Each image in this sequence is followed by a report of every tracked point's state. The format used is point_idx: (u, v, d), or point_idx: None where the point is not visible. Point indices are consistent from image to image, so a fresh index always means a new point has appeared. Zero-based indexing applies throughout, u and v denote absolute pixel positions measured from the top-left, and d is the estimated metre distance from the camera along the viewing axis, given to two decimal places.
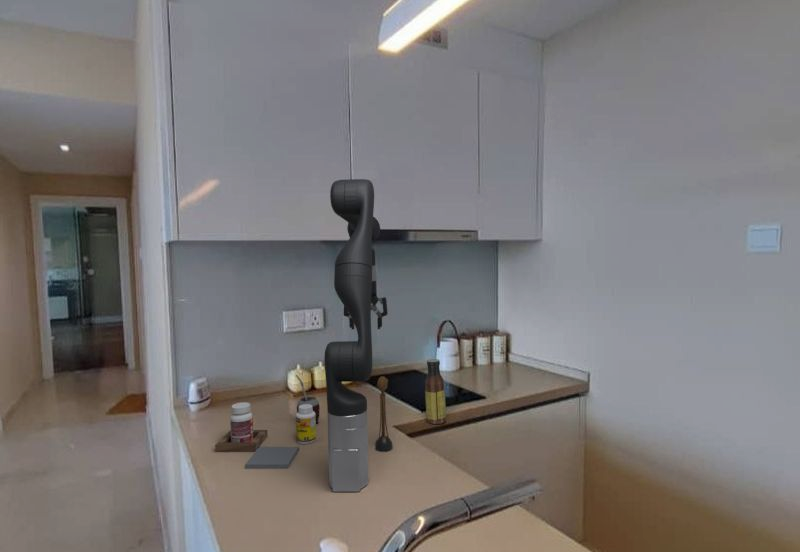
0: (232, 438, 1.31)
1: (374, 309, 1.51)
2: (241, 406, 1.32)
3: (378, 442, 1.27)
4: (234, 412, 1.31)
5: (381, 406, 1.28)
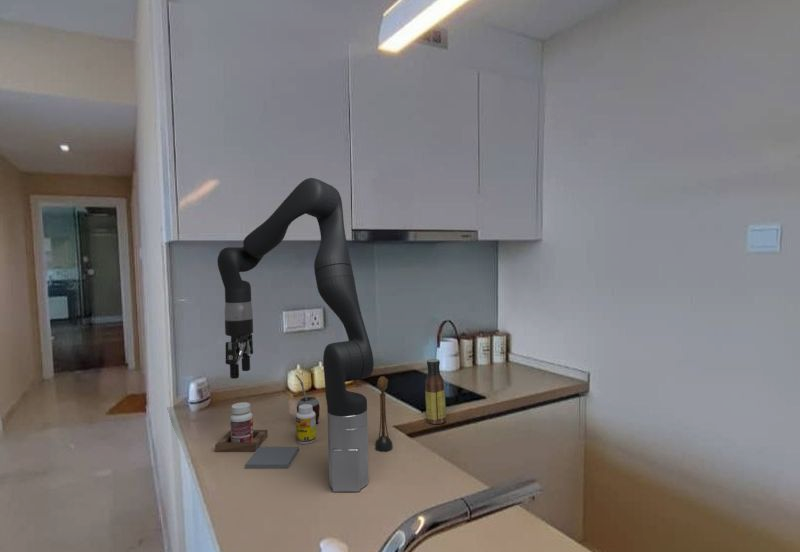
0: (232, 438, 1.31)
1: (249, 349, 1.36)
2: (241, 406, 1.32)
3: (378, 442, 1.27)
4: (234, 412, 1.31)
5: (381, 406, 1.28)
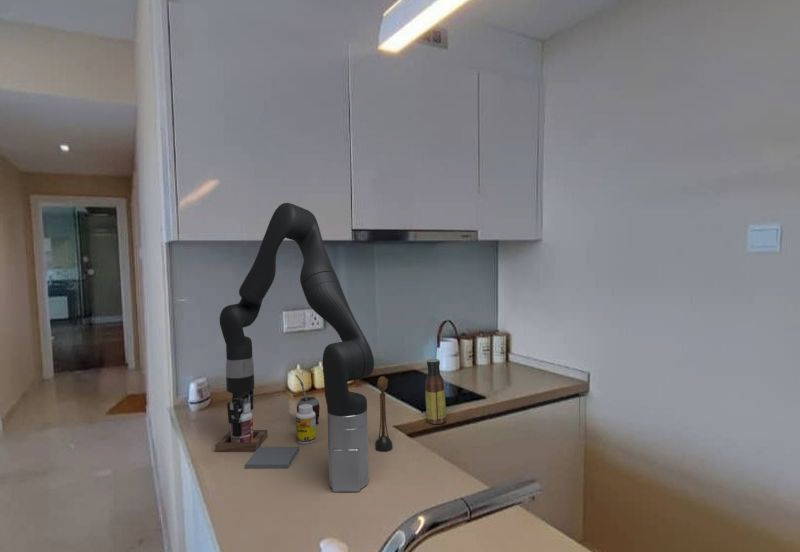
0: (232, 437, 1.31)
1: (250, 404, 1.36)
2: None
3: (378, 442, 1.27)
4: None
5: None
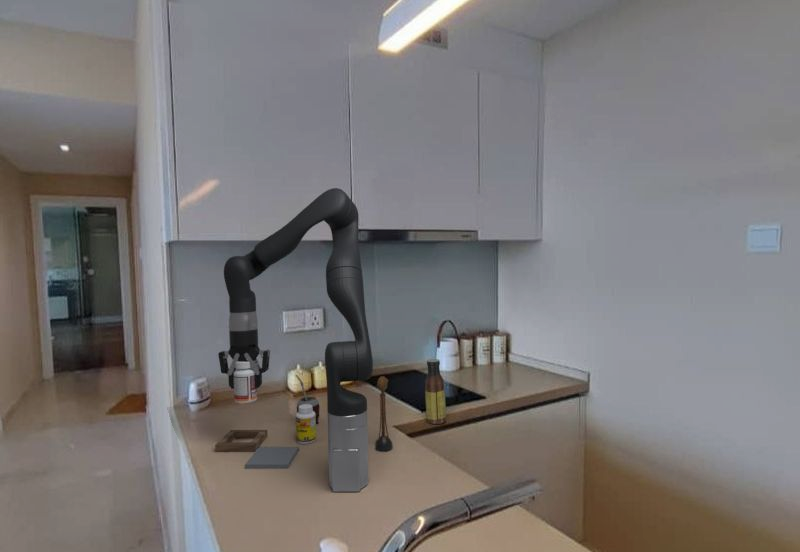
0: (251, 393, 1.28)
1: None
2: None
3: (378, 442, 1.27)
4: None
5: (381, 406, 1.28)
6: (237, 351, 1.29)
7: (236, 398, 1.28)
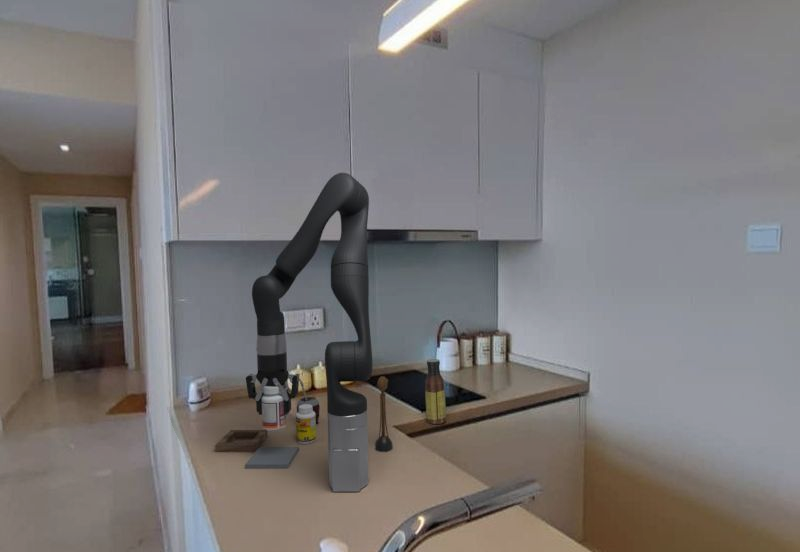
0: (280, 419, 1.21)
1: None
2: None
3: (378, 442, 1.27)
4: None
5: (381, 406, 1.28)
6: (265, 375, 1.22)
7: (264, 425, 1.21)
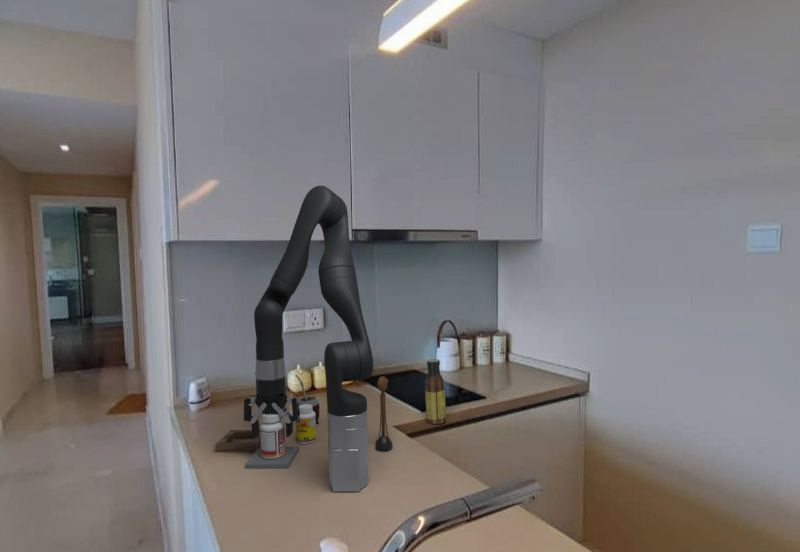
0: (279, 448, 1.21)
1: None
2: None
3: (378, 442, 1.27)
4: (279, 419, 1.22)
5: (381, 406, 1.28)
6: (264, 400, 1.21)
7: (263, 453, 1.21)
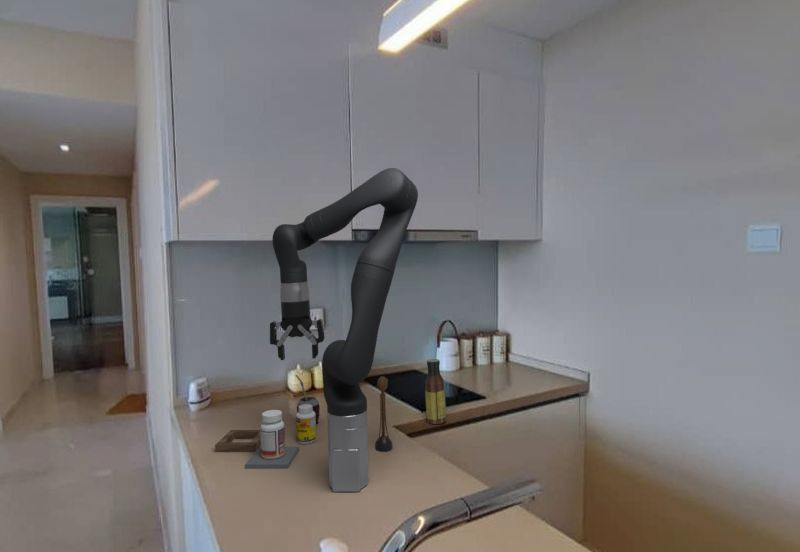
0: (279, 448, 1.21)
1: None
2: (278, 411, 1.23)
3: (378, 442, 1.27)
4: (279, 419, 1.22)
5: (381, 406, 1.28)
6: (289, 323, 1.24)
7: (263, 453, 1.21)
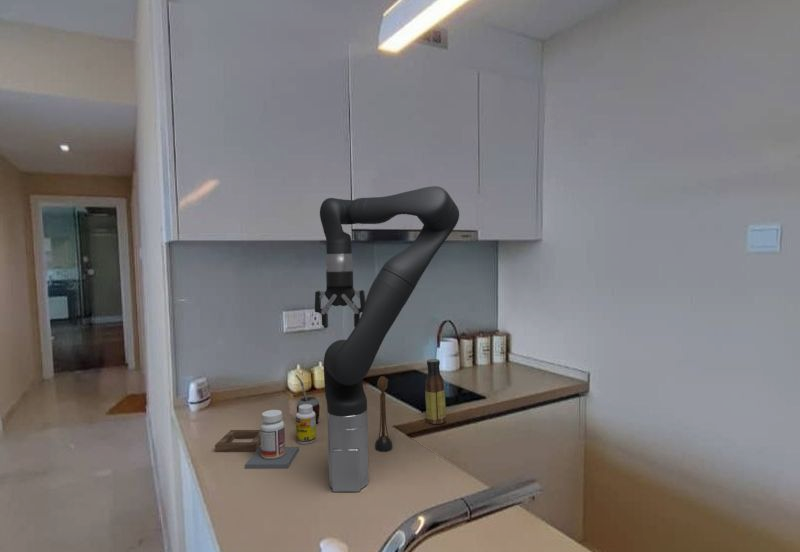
0: (279, 448, 1.21)
1: None
2: (278, 411, 1.23)
3: (378, 442, 1.27)
4: (279, 419, 1.22)
5: (381, 406, 1.28)
6: (334, 292, 1.31)
7: (263, 453, 1.21)
